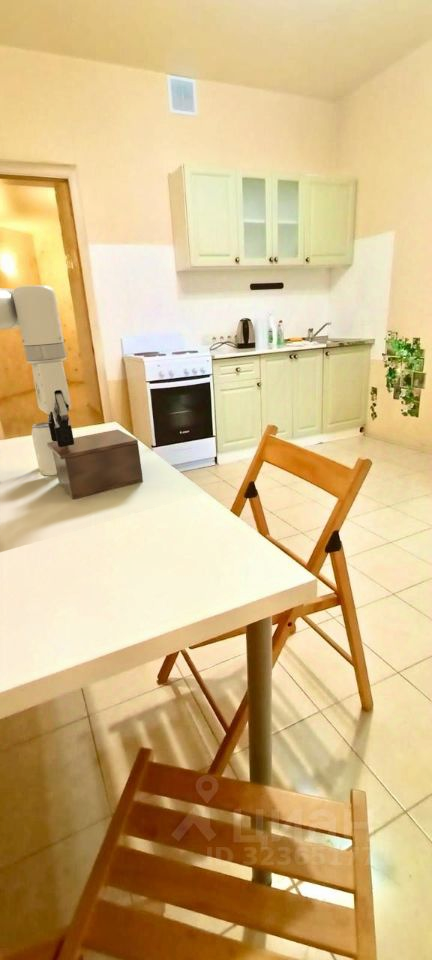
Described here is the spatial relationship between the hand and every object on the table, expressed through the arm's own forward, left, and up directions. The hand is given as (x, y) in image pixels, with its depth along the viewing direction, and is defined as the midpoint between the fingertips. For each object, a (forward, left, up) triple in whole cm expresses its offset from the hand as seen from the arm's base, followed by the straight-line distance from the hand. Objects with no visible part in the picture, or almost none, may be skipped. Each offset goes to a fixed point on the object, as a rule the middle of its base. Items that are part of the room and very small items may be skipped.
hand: (62, 441), depth 94 cm
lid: (+6, 0, -2) cm, 6 cm away
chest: (+6, 0, -11) cm, 12 cm away
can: (-1, +15, -11) cm, 19 cm away
